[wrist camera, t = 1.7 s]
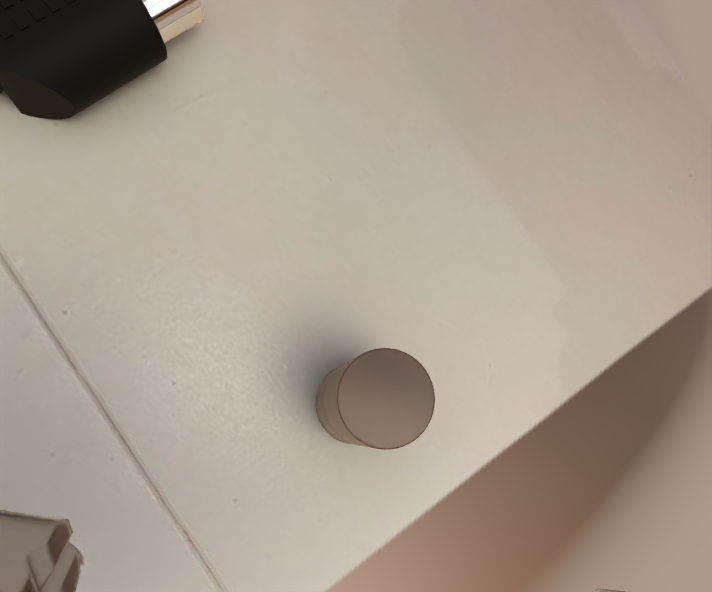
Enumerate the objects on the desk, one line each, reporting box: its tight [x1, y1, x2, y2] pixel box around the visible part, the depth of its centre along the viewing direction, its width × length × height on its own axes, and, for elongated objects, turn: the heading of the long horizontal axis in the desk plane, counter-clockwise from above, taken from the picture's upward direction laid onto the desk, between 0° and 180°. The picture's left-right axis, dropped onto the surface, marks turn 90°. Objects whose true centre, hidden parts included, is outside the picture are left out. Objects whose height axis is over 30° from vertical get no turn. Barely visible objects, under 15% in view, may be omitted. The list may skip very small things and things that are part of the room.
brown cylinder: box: [316, 348, 435, 449], centre depth 34 cm, size 4×4×8 cm
